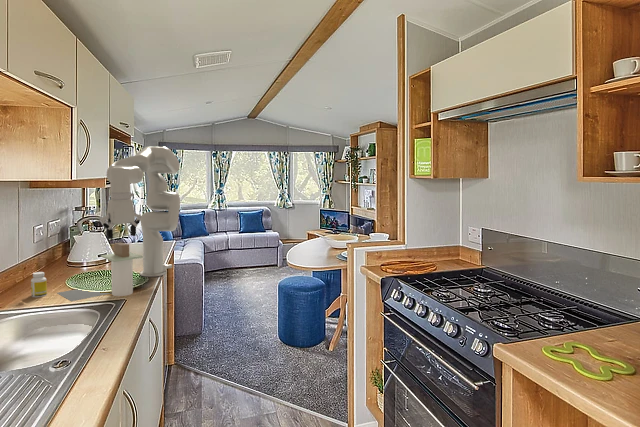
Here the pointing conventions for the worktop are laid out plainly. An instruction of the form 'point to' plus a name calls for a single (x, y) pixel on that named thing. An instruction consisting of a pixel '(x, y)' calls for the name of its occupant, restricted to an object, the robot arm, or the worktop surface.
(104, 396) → the worktop surface
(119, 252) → the lid
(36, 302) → the worktop surface
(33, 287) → the supplement bottle
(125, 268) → the cup
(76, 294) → the mat
